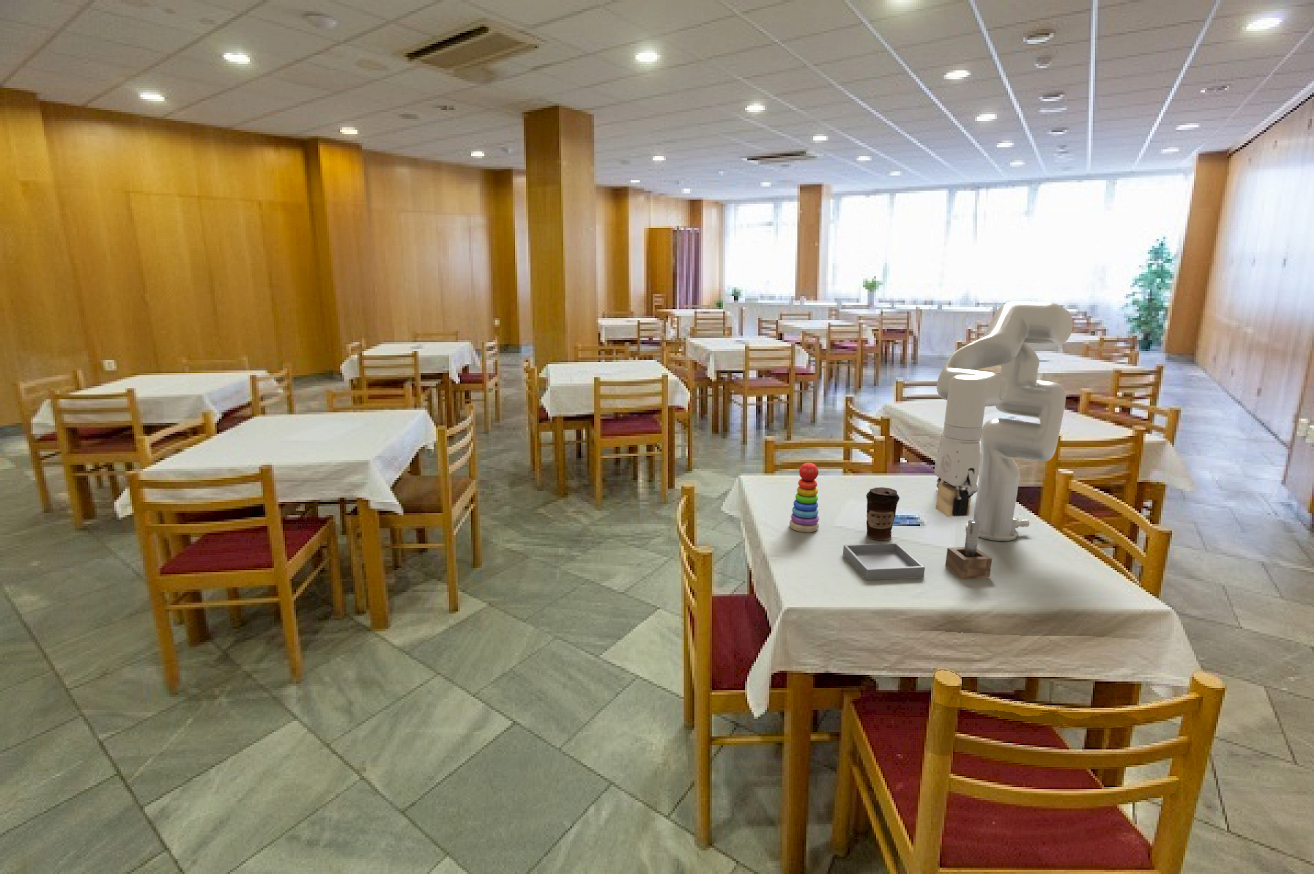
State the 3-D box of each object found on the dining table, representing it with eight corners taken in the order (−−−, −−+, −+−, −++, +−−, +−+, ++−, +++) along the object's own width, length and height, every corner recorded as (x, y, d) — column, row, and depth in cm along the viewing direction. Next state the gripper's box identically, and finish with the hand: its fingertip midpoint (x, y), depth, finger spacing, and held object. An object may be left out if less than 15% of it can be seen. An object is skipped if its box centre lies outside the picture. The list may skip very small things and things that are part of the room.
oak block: (956, 507, 152) (959, 482, 150) (968, 515, 147) (972, 490, 146) (935, 508, 151) (938, 483, 150) (947, 516, 146) (950, 490, 145)
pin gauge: (969, 566, 159) (976, 519, 156) (975, 571, 157) (982, 524, 154) (959, 567, 159) (965, 520, 156) (965, 572, 156) (972, 524, 153)
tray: (896, 552, 168) (897, 542, 167) (923, 577, 155) (925, 567, 154) (842, 554, 166) (843, 544, 166) (866, 579, 153) (867, 569, 152)
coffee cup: (897, 544, 173) (902, 497, 169) (864, 541, 174) (868, 494, 171) (892, 531, 181) (897, 486, 178) (861, 529, 183) (865, 484, 179)
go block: (972, 565, 162) (974, 546, 160) (989, 578, 155) (992, 558, 154) (945, 566, 161) (947, 547, 160) (961, 579, 154) (963, 560, 153)
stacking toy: (783, 528, 183) (787, 462, 178) (798, 520, 189) (802, 456, 184) (809, 535, 178) (814, 468, 173) (823, 527, 184) (828, 462, 179)
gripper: (925, 423, 152) (917, 498, 157) (968, 443, 136) (957, 526, 140) (956, 422, 153) (947, 497, 158) (1002, 442, 137) (990, 524, 141)
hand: (952, 509), depth 149 cm, fingers closed on oak block, 5 cm apart
